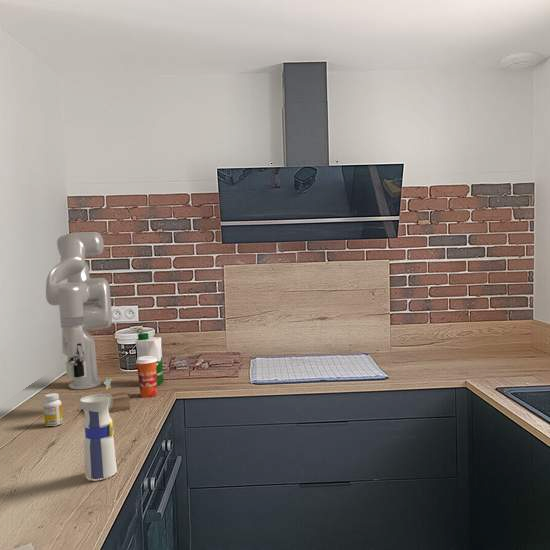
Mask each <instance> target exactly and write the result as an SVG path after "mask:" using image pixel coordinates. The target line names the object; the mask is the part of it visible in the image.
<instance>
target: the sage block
mask: <svg viewBox="0 0 550 550" xmlns="http://www.w3.org/2000/svg"><path fill="white" fill-rule="evenodd" d="M83 362H84V361H83ZM74 366H75V364H74V361H71V362H68V361H67V362H65V371H66V378H69V379H70V380H73V379H77V378H83V377H86V364H85V362H84V376H82V377H74Z"/></svg>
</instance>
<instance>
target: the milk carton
mask: <svg viewBox="0 0 550 550" xmlns="http://www.w3.org/2000/svg"><path fill="white" fill-rule="evenodd" d="M134 343H135V347H136V354H137V358H139V357H143V356H155V358H157V360H158V361H156V376H157V386H160V385H161V384H162V383H163V382H164V367H163V366H164V365H163V354H162V353H163V352H162V336H161V337H160V336H159V337H155V336H151V337H150V336H149V333H148V332H141V333H137V339H136V340H135V341H134ZM160 383H161V384H160Z"/></svg>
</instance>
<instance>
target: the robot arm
mask: <svg viewBox="0 0 550 550" xmlns="http://www.w3.org/2000/svg"><path fill="white" fill-rule="evenodd" d="M56 245H57V251H58V253H59V255H60V262H58V263H57V264H56V265H55V266H54V267H53V268H52V269H51V270H50V272H49V273H48V275H47V278H46V281H45V283H46V284H45V298H46V302H47V303H48V304H49V305H51V306H59V307H58V308H59V317H60V318H59V319H60V328H61V344H62V345H61V349H62V353H63V354H64V355H65V356H67V362H71V361H74V364H75V366H74V377H82V376H84V362H85V364H86V377H83V378H77V379H72V381H71V382H70V383H69V384H68V388H69V389H71V390H88V389H92V388H97V387H99V386H102V384H103V381H102V379H99V377H98V367H97V366H98V365H97V354H96V353H97V352H96V341H95V339H94V336H93V335H91V334H90V332H88V331H92V330H93V331H95V330H103V329H108V328H110V327H111V326H112V321H113V313H112V301H111V288H110V284H109V282H108V280H107V279H106V278H103V277H96V278H93V277H92V278H91V277H90V267H89V265H88V263H87V262H86V256H96V255H98V256H99V255H101V254H102V253H103V252H104V248H105V247H104V246H105V245H104V239H103V235H101V233H100V232H97V231H83V232H82V231H81V232H80V231H79V232H70V233H66V234H63V235H62V236H59V237H58V238H57V241H56ZM64 280H66V281H67V282H62V281H64ZM85 303H88V304H89V303H97V305H84V304H85ZM83 361H84V362H83Z"/></svg>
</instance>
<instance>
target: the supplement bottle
mask: <svg viewBox="0 0 550 550" xmlns="http://www.w3.org/2000/svg"><path fill="white" fill-rule="evenodd" d="M44 399H45V402H44V403H43V413H44V414H43V417H44V425H49V426H51V425H58V424H61V423H63V424H64V418H63V403H62V401H61V400H60V396H59V393H56V392H54V393H53V392H52V393H48V394H45V395H44Z"/></svg>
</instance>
